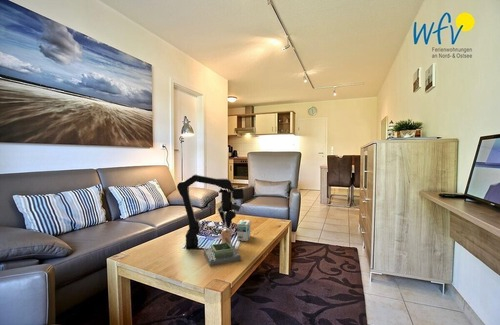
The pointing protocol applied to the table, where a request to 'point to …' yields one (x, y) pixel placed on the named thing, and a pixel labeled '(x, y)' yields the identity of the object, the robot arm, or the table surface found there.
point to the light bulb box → (243, 230)
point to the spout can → (226, 235)
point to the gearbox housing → (221, 254)
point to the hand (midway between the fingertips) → (226, 225)
